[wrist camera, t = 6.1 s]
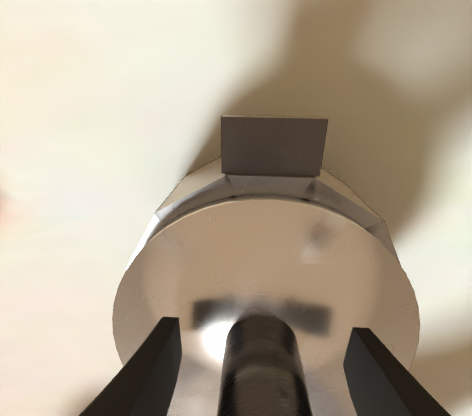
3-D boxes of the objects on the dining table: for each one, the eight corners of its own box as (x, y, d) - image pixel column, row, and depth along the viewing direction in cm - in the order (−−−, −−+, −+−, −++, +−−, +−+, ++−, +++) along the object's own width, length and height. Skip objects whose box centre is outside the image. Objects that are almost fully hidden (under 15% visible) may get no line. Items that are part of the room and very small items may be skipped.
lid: (445, 220, 10) (647, 322, 5) (347, 428, 14) (404, 606, 9) (136, 162, 10) (16, 205, 5) (124, 387, 14) (50, 543, 9)
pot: (388, 113, 13) (463, 122, 8) (334, 342, 19) (360, 419, 15) (149, 107, 13) (97, 114, 9) (173, 333, 20) (150, 404, 15)
